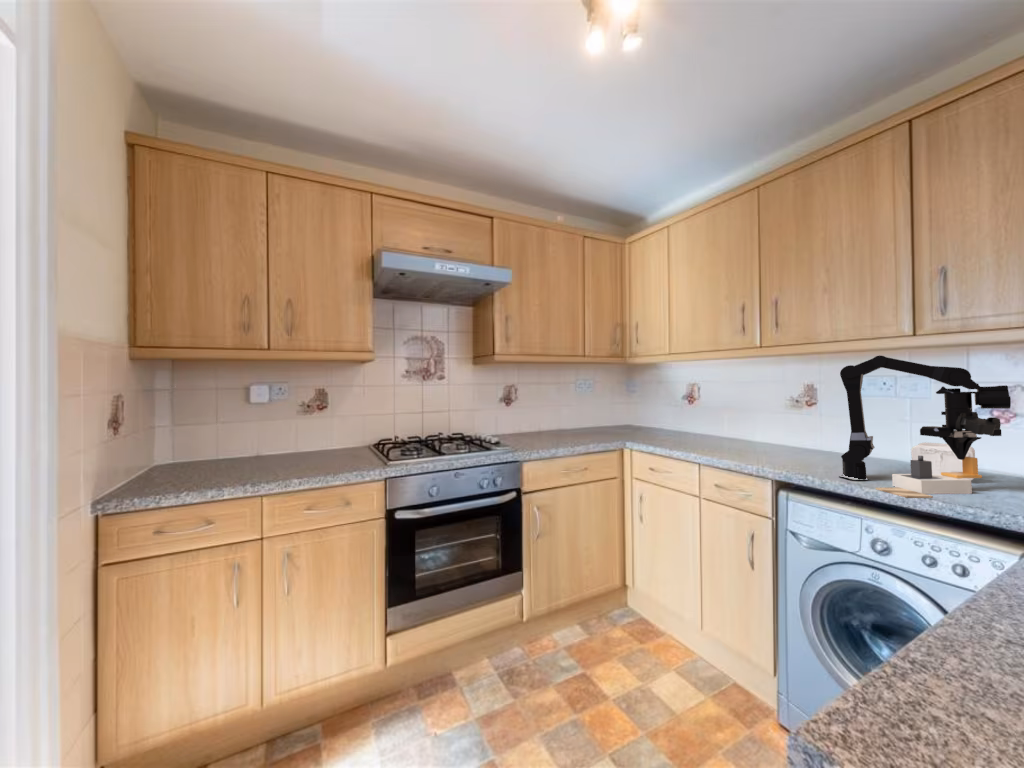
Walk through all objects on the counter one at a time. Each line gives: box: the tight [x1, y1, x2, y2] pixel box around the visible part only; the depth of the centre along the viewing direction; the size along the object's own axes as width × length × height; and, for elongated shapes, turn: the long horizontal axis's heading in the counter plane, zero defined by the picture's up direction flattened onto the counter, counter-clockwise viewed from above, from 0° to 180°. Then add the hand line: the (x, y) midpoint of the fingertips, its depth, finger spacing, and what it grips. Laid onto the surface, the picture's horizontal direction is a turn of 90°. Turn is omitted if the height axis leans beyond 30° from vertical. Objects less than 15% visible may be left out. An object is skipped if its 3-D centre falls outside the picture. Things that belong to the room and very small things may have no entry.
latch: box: [941, 457, 983, 479], centre depth 127 cm, size 5×7×6 cm
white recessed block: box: [891, 473, 973, 495], centre depth 127 cm, size 10×14×4 cm
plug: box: [901, 456, 941, 479], centre depth 128 cm, size 6×7×8 cm
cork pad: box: [875, 486, 933, 499], centre depth 124 cm, size 11×7×1 cm, turn 177°
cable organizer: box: [910, 442, 976, 481], centre depth 143 cm, size 15×11×12 cm
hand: (961, 459), depth 127 cm, fingers closed
